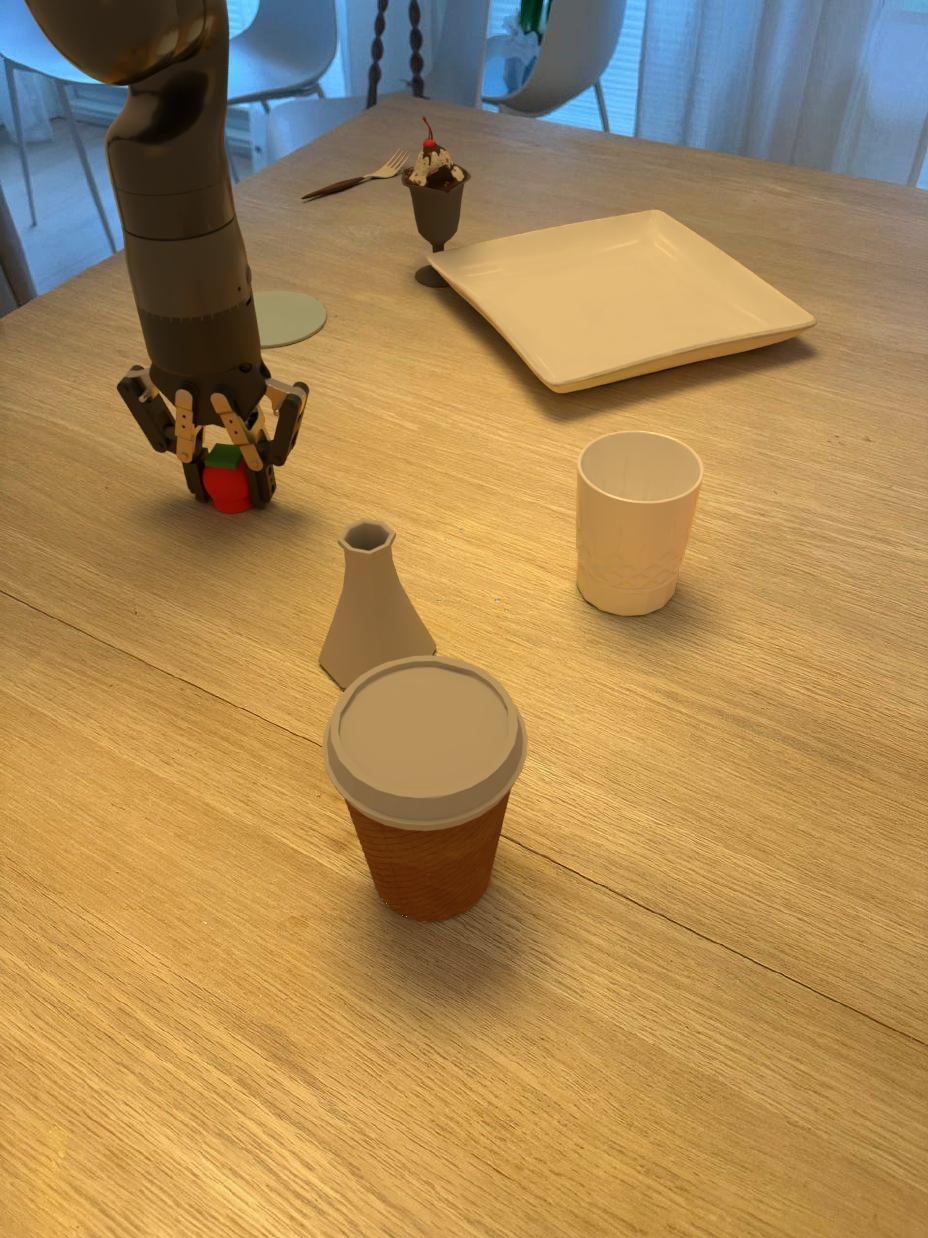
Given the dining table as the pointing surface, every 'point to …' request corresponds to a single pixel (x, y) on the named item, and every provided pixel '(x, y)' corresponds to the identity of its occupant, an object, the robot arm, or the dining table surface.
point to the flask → (371, 608)
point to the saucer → (287, 317)
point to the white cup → (634, 518)
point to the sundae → (435, 200)
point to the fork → (381, 173)
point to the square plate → (617, 298)
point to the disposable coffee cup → (426, 778)
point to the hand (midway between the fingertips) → (234, 498)
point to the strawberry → (227, 479)
